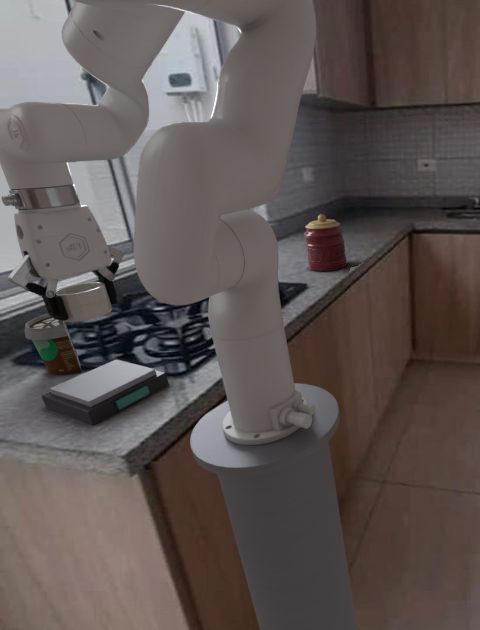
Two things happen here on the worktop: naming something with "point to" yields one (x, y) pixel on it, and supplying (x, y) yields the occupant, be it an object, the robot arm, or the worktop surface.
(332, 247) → the kitchen canister
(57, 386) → the scale
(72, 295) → the bowl
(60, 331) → the food container
